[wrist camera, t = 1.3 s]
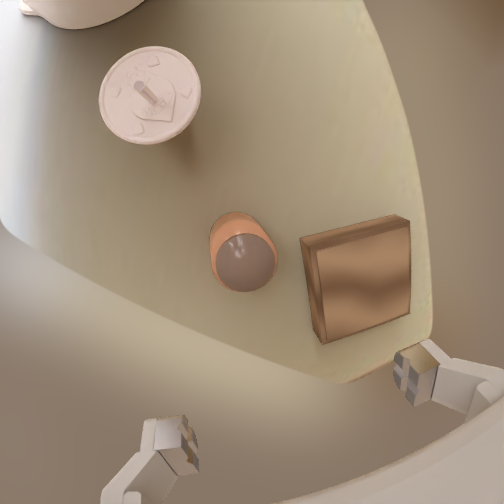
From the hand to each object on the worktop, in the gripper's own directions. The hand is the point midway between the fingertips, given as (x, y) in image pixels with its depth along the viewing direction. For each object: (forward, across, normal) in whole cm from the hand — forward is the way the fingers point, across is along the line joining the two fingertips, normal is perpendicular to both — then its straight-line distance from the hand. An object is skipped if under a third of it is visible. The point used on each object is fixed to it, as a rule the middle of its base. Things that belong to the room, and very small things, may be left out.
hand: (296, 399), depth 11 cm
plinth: (+21, -12, +7) cm, 25 cm away
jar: (+21, 0, 0) cm, 21 cm away
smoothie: (+21, +4, -13) cm, 25 cm away
